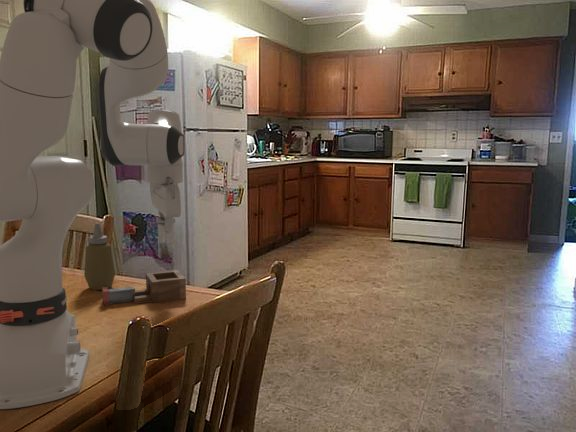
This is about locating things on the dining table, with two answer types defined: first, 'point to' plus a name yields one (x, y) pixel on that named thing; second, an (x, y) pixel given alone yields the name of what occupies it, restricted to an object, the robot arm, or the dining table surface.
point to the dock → (162, 287)
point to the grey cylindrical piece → (165, 239)
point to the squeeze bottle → (99, 261)
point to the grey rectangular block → (118, 295)
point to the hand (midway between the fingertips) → (165, 228)
